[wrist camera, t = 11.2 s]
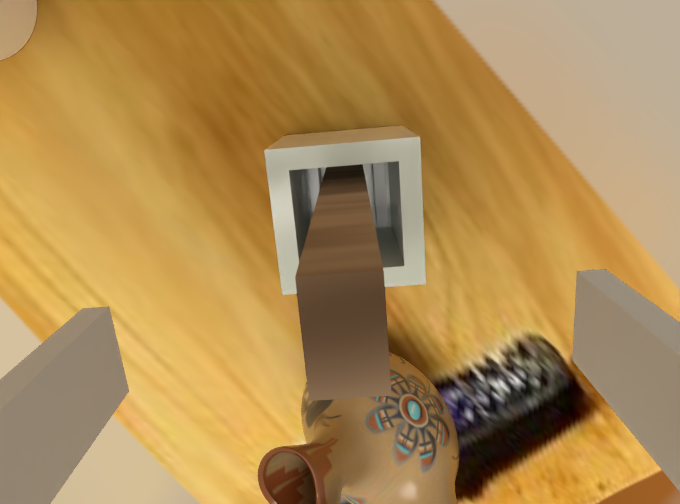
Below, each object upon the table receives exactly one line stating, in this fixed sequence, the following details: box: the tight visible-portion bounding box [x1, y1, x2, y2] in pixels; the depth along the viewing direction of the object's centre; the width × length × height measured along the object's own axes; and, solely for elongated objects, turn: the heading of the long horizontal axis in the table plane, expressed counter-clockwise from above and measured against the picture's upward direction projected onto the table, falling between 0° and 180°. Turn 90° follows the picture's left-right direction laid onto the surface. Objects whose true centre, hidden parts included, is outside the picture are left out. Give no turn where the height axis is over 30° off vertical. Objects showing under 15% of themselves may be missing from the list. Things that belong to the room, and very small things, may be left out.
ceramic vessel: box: [258, 352, 459, 504], centre depth 32 cm, size 16×9×25 cm, turn 53°
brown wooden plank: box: [295, 164, 392, 401], centre depth 27 cm, size 4×2×24 cm, turn 5°
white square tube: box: [264, 125, 426, 295], centre depth 34 cm, size 8×8×10 cm
